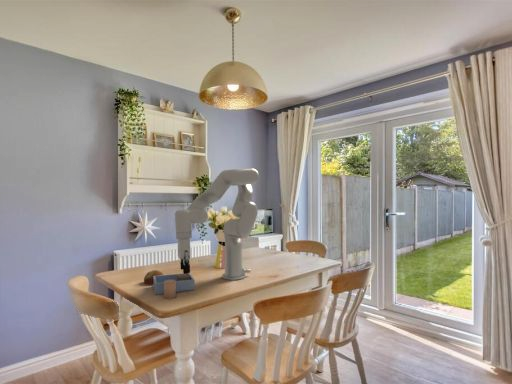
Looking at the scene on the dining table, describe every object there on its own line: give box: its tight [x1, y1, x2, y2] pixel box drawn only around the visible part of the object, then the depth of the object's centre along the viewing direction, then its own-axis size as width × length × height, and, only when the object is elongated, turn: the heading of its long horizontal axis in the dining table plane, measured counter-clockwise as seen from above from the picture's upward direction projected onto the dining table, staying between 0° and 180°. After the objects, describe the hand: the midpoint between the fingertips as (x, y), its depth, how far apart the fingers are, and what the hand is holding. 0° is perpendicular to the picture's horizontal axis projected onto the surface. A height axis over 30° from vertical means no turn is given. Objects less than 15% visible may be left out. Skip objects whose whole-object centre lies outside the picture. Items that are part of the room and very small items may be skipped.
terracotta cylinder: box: [163, 280, 177, 300], centre depth 134 cm, size 5×5×7 cm
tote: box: [152, 272, 196, 296], centre depth 146 cm, size 18×14×5 cm
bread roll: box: [143, 269, 164, 286], centre depth 156 cm, size 10×10×8 cm
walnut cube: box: [177, 273, 189, 281], centre depth 148 cm, size 5×5×5 cm
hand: (185, 270), depth 149 cm, fingers open, 7 cm apart
